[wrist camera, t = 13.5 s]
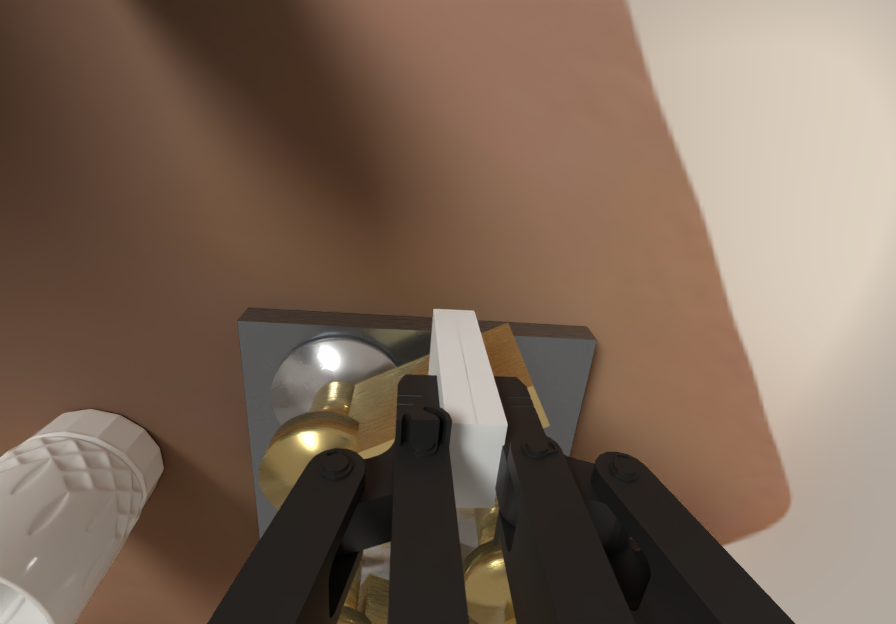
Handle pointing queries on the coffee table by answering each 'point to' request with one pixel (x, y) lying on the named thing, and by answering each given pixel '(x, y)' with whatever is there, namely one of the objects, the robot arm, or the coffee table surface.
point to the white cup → (69, 511)
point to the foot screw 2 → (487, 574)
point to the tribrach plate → (372, 353)
